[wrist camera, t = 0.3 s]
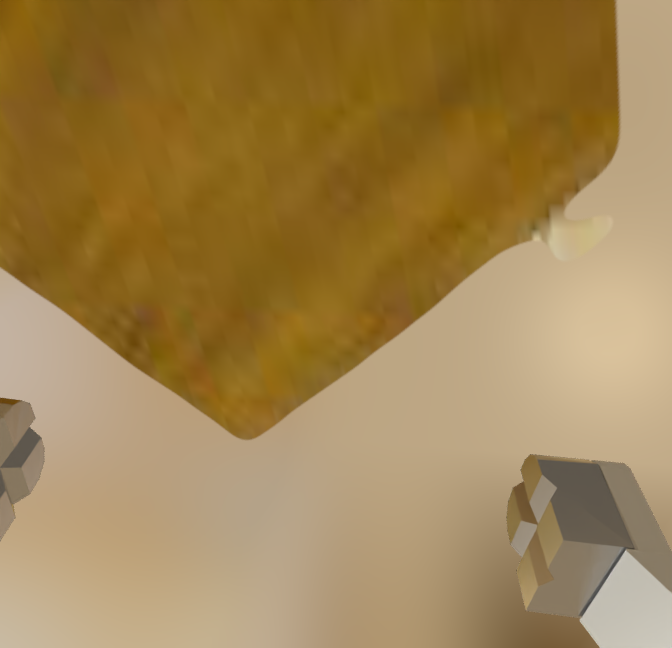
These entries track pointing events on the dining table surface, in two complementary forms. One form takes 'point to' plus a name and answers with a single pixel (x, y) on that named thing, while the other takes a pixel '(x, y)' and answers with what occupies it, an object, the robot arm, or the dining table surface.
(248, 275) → the dining table surface
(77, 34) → the dining table surface
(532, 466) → the robot arm
